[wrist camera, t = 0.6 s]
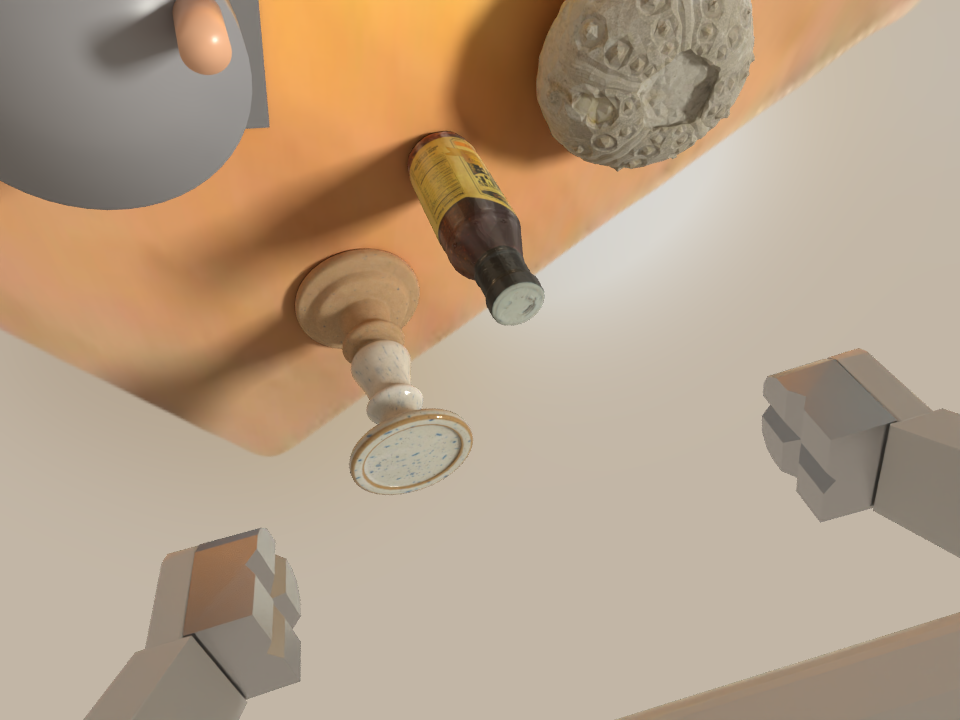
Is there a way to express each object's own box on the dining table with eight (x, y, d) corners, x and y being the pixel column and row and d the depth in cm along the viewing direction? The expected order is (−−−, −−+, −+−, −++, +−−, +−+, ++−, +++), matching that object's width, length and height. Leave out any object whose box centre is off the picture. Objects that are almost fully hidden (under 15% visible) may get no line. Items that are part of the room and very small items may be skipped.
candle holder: (266, 297, 68) (307, 471, 55) (372, 224, 66) (439, 386, 54) (343, 358, 77) (393, 518, 65) (438, 295, 75) (508, 447, 63)
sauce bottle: (481, 168, 66) (572, 316, 53) (420, 200, 66) (496, 355, 54) (456, 109, 60) (550, 259, 48) (390, 145, 61) (467, 302, 48)
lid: (85, 226, 46) (85, 296, 42) (-183, 1, 34) (-221, 68, 30) (298, 98, 45) (320, 157, 41) (102, -185, 33) (104, -142, 28)
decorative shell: (557, 168, 69) (604, 232, 63) (485, 5, 55) (536, 66, 49) (726, 65, 67) (792, 120, 61) (695, -132, 53) (776, -86, 47)
